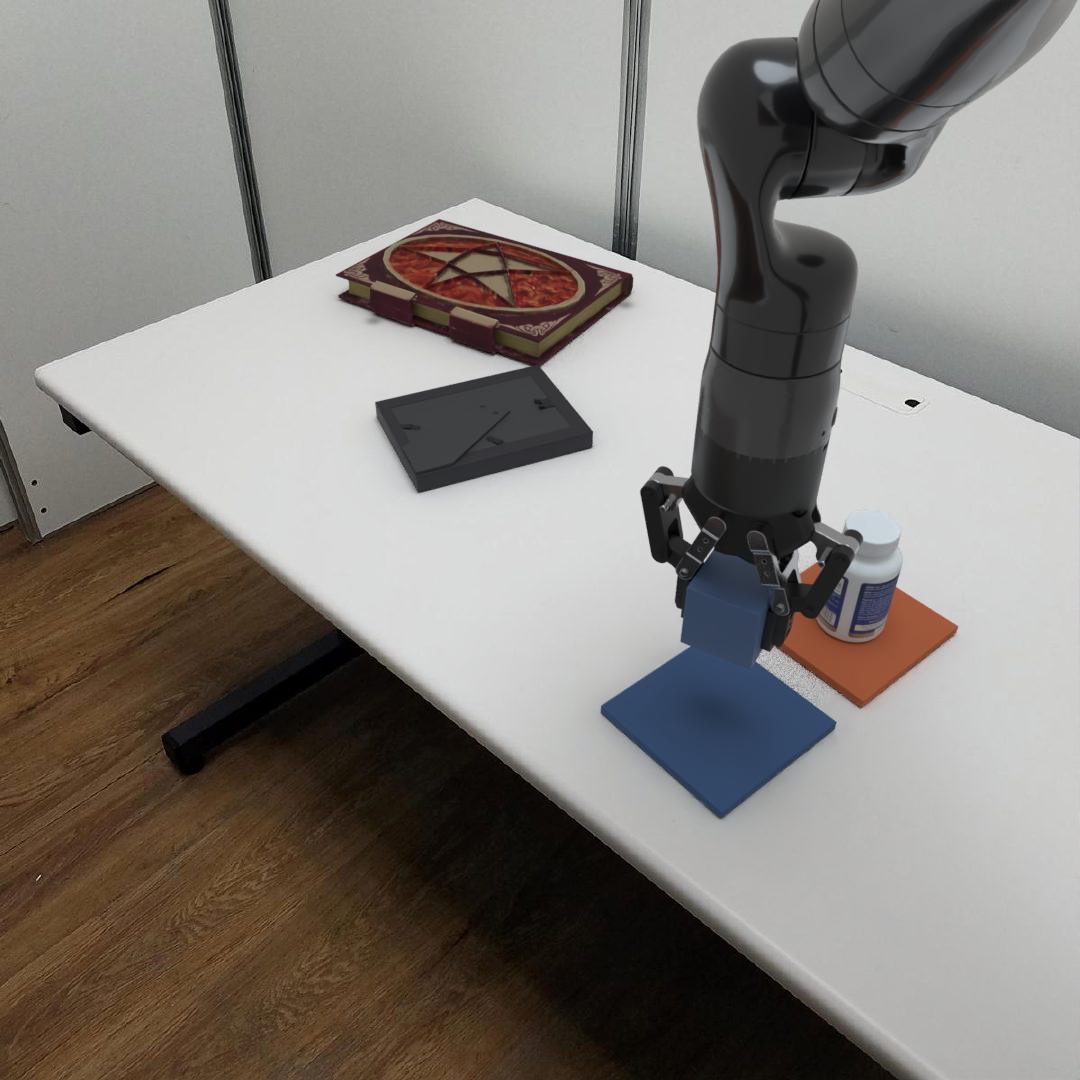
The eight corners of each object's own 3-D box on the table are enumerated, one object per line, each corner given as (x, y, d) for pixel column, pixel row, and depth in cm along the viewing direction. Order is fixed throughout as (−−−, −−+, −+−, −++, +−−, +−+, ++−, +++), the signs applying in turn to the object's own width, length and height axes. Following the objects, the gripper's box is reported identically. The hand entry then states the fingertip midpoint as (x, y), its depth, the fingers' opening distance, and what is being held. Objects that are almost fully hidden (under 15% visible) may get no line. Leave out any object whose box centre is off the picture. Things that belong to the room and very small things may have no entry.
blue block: (778, 622, 72) (789, 568, 69) (750, 670, 69) (760, 615, 66) (710, 597, 74) (717, 542, 71) (679, 642, 71) (686, 587, 68)
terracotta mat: (956, 633, 84) (958, 626, 83) (861, 708, 78) (863, 701, 78) (834, 556, 91) (836, 548, 91) (739, 619, 85) (740, 612, 85)
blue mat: (835, 729, 77) (837, 721, 76) (720, 819, 71) (721, 812, 71) (713, 637, 84) (714, 629, 83) (600, 712, 78) (600, 705, 78)
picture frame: (417, 493, 98) (592, 447, 103) (415, 473, 96) (593, 428, 102) (376, 417, 107) (538, 379, 112) (374, 399, 106) (538, 361, 111)
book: (632, 297, 127) (634, 257, 124) (534, 372, 114) (535, 330, 110) (442, 241, 139) (440, 204, 136) (334, 302, 126) (329, 263, 122)
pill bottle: (890, 608, 85) (917, 514, 79) (876, 653, 81) (904, 558, 75) (822, 589, 87) (844, 495, 80) (806, 632, 83) (828, 537, 77)
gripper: (620, 411, 60) (609, 623, 71) (869, 490, 55) (814, 706, 66) (676, 352, 65) (657, 559, 76) (909, 418, 60) (852, 631, 71)
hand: (730, 626), depth 71 cm, fingers closed on blue block, 5 cm apart
